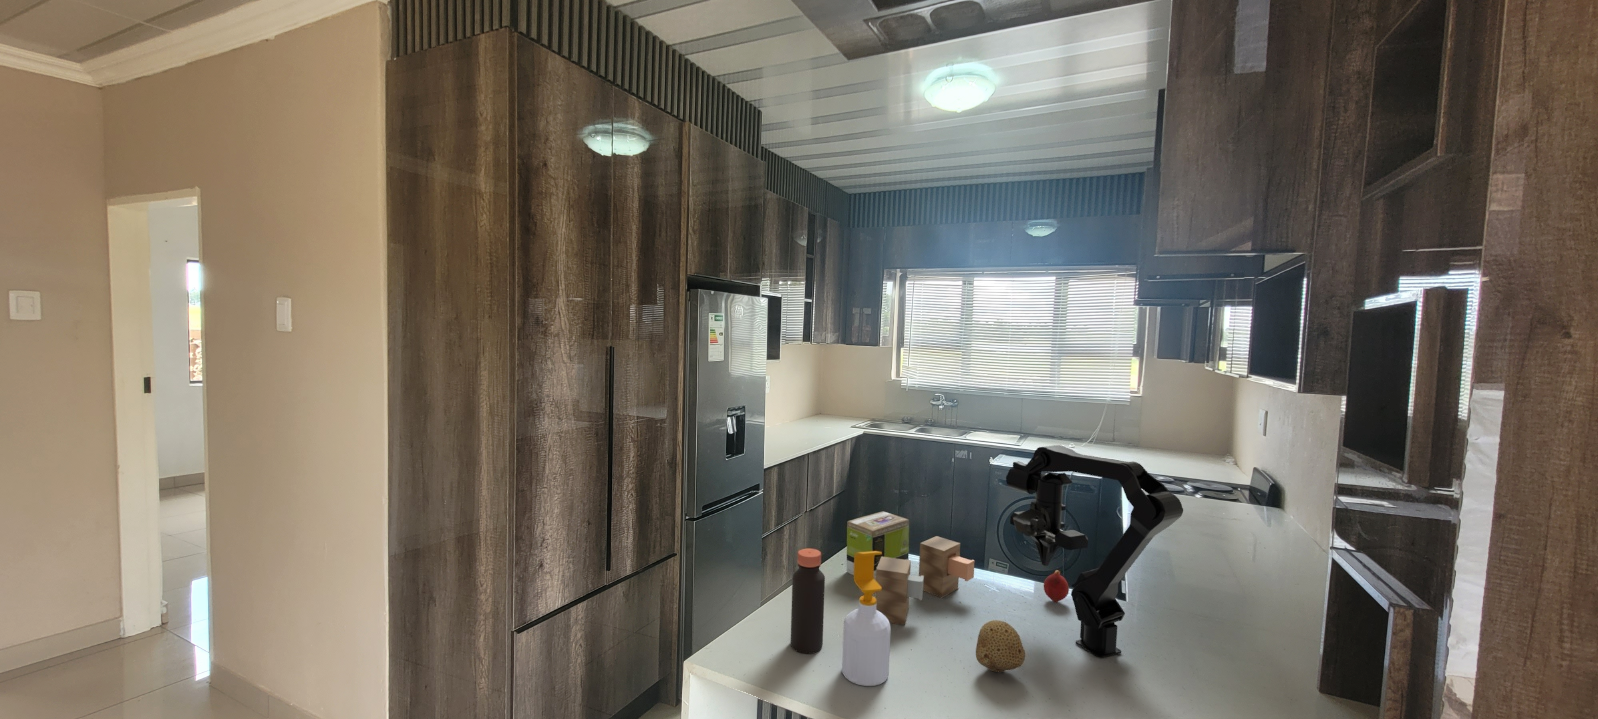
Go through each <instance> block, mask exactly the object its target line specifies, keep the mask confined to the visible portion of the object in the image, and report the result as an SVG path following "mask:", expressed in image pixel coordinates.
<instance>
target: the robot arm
mask: <svg viewBox="0 0 1598 719" xmlns="http://www.w3.org/2000/svg"><path fill="white" fill-rule="evenodd" d="M1065 472H1069V473H1070V472H1072V473H1077V474H1082V475H1088V476H1092V477H1093V476H1094V477H1098V478H1103V479H1109V480H1115V481H1118V482H1119V483H1120V485H1121V486H1122V488H1123V492H1124V494H1125V497H1126V499H1127V501H1128V502H1129V504H1131V506H1132V510H1131V512H1130V521H1129V526H1128V527H1127V528H1126V530H1125V531H1124V532H1123V534H1122V535H1121V537H1120V538H1119V539H1118V540H1117V542H1116V543H1115V545H1114V546H1113V547H1112V549H1111V550H1110V552H1109V553H1108V554H1107V556H1106V557H1105V558H1104V560H1103V562H1101V563H1100V565H1099V567H1098V568H1095V569H1091V570H1087V571H1084V572H1081V573H1080V574H1079V575H1078V577H1077V579H1076V581H1075V583H1073V584H1071V587H1073V588H1072V590H1071V592H1070V596H1071V597H1072V601H1073V606H1074V610H1075V613H1076V617H1077V620H1078V621H1080V630H1079V632H1080V634H1079V639H1077V640H1075V644H1076V645H1078V646H1079V647H1081V648H1082V649H1084V650H1086V651H1087V652H1089V653H1090V654H1092V655H1093V656H1095V657H1097V658H1099V659H1103V658H1105V657H1110V656H1114V655H1119V654H1122V650H1121V649H1120V648H1118V647H1117V641H1118V640H1117V639H1118V625H1117V624H1116V622H1121V621H1123V618H1124V616H1125V614H1126V612H1125V611H1124V609H1123V608H1122V606H1121V605H1120V603H1119V602H1118V600H1117V599H1116V598H1117V595H1118V593H1119V583H1120V581H1121V580H1122V579H1123V578H1124V576H1125V575H1126V573H1128V571H1129V570H1130V568H1131V567H1132V566H1133V564H1134V563H1135V562H1136V560H1137V559H1138V558H1139V556H1140V555H1141V554H1142V553H1143V551H1144V550H1145V549H1146V547H1148V545H1149V543H1150V542H1152V539H1153V538H1154V537H1155V536H1156V535H1158V534H1160V533H1161V532H1163V531H1164V530H1166V529H1168V528H1169V527H1170V526H1171V525H1173V524H1174V523H1175V522H1177V520H1179V519H1180V518H1181V517H1182V516H1183V513H1184V508H1183V505H1182V501H1181V500H1180V498H1178V496H1176V495H1175V494H1174V493H1172V492H1171V491H1170V490H1169V489H1168V487H1166V485H1165V484H1163V483H1162V482H1161V481H1159V479H1157V478H1156V477H1154V476H1153V475H1151V474H1150V473H1149V472H1148V470H1146V469H1145V468H1144V466H1143V465H1142V464H1141V463H1139V462H1136V461H1124V460H1121V459H1120V460H1119V459H1113V458H1107V457H1101V456H1093V455H1087V454H1082V453H1078V452H1077V451H1075V450H1074V449H1072V448H1069V447H1066V446H1063V445H1061V444H1057V445H1047V446H1039V447H1037V448H1036V450H1035V451H1034V453H1033V456H1032V457H1031V459H1030V460H1029V461H1028V462H1027V463H1025V462H1023V461H1018V460H1017V461H1013V462H1012V467H1011V468H1010V469H1009V470H1008V472H1007V474H1006V476H1005V483H1006V485H1007V487H1009V488H1010V489H1013V490H1016V491H1019V492H1022V493H1025V494H1028V495H1033V494H1035V501H1031V502H1030V506H1029V509H1028V510H1023V511H1015V512H1012V514H1011V515H1010V517H1009V524H1010V525H1012V526H1014V528H1015V531H1016V532H1018V533H1021V534H1023V535H1024V536H1025V537H1031V538H1032V540H1034V542H1035V545H1036V548H1037V551H1038V556H1039V559H1040V563H1041V565H1042V566H1044V567H1047V566H1049V564H1050V563H1051V561H1052V560H1053V559H1054V556H1055V555H1056V553H1057V552H1058V551H1059V549H1060V548H1062V549H1065V550H1066V551H1067V550H1068V551H1073V550H1078V549H1079V550H1080V549H1088V547H1089V546H1088V545H1089V544H1088V543H1089V538H1088V536H1087V535H1086V534H1084V533H1081V532H1079V531H1077V530H1074V529H1068V530H1063V528H1065V527H1066V523H1065V522H1063V521H1062V512H1063V511H1066V510H1067V508H1066V507H1067V505H1065V504H1063V494H1064V486H1067V485H1072V484H1073V481H1072V479H1071V478H1070V477H1069V476H1068V475H1067V473H1065ZM1056 473H1058V474H1056ZM1146 493H1147V494H1146Z"/></svg>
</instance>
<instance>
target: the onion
mask: <svg viewBox="0 0 1598 719" xmlns="http://www.w3.org/2000/svg"><path fill="white" fill-rule="evenodd" d="M1043 591H1044V593H1045V595H1046V596H1047V597H1048V598H1049V599H1050V600H1052V601H1053V602H1054V603H1059V602H1060V601H1062V600H1064V599H1066V597H1068V595H1069V592H1070V587H1069V584H1068V582H1067V580H1066V578H1065V577H1064V576H1062V575H1061V571H1060V570H1058V569H1056V570H1055V571H1054V573H1052V574H1049V575H1048V576H1047V577H1046V578H1045V579H1044V582H1043Z"/></svg>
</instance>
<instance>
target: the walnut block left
mask: <svg viewBox="0 0 1598 719" xmlns="http://www.w3.org/2000/svg"><path fill="white" fill-rule="evenodd" d="M911 563H912V560H911V559H910V560H904V559H896V558H889V557H881V559H880V561H879V564H878V566H877V569H876V582H877V583H878V584H879V585H880V586H881V587H882V590H881V591H875V593H874V594H875V596H874V597H875V598H876V600H877V601H876V610H878V611H879V612H881V613H882V614H883V615H884V616H885V617H886V618H887V619H888V620H889V623H890V624H896V625H902V626H906V624H907V623H906V622H907V617H908V614H909V609H910V597H907V585H908V576H909V575H911Z"/></svg>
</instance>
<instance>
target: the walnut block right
mask: <svg viewBox="0 0 1598 719" xmlns="http://www.w3.org/2000/svg"><path fill="white" fill-rule="evenodd" d="M952 554H953V555H956V556H959V557H961V542H957V541H954V540H952V539H951V540H950V539H948V538H945V537H940V536H938V535H936V536H934V537H930V538H929V539H927V540H925V541H922V542H920V543H919V561H918V562H919V563H918V576H921V575H922V576H924V583H923V592H926V593H929V594H931V595H934V596H936V597H940V598H941V597H942V598H944V597H946V596H947V595H949V594H952V592H955V591H956V590H957V589H958V590H959V577H956V576H954V575H951V574H948V573H947V565H948V556H950V555H952Z"/></svg>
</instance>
